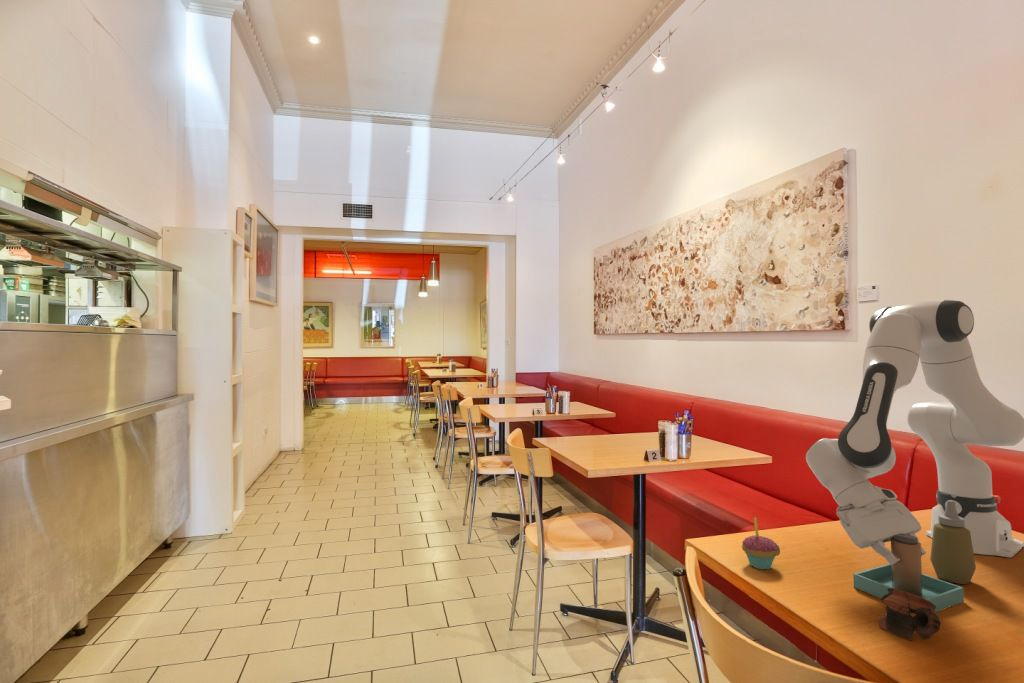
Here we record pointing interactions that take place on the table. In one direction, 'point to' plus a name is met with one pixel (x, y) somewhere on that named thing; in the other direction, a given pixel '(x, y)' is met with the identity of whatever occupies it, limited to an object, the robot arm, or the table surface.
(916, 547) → the shaker
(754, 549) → the cupcake
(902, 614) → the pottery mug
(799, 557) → the table surface
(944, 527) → the squeeze bottle
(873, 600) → the table surface
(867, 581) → the tray
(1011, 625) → the table surface
